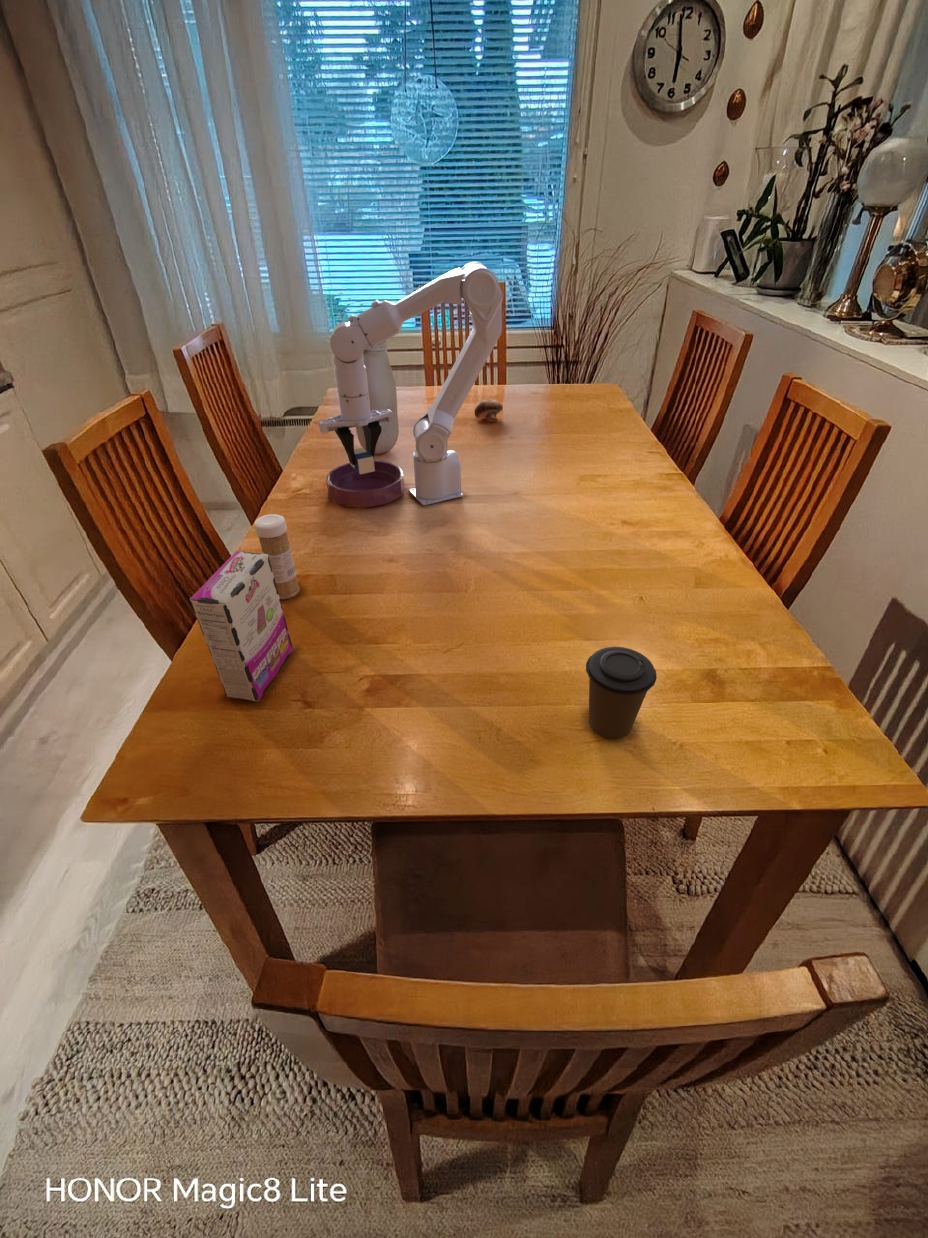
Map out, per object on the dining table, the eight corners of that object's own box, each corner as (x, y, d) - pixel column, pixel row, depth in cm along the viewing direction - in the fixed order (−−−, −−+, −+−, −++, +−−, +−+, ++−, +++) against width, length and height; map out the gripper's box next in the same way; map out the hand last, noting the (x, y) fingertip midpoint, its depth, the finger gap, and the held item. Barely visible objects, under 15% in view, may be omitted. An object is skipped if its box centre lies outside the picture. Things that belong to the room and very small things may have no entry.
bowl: (388, 472, 136) (386, 455, 134) (416, 499, 125) (415, 481, 123) (319, 486, 131) (317, 469, 128) (342, 516, 119) (340, 497, 117)
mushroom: (504, 414, 158) (496, 392, 157) (476, 425, 160) (469, 403, 159) (508, 420, 166) (501, 398, 165) (482, 430, 168) (474, 409, 167)
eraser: (349, 464, 122) (347, 449, 121) (364, 461, 124) (363, 447, 122) (359, 474, 118) (358, 459, 116) (375, 471, 119) (373, 456, 118)
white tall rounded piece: (383, 462, 141) (371, 335, 124) (351, 453, 145) (335, 330, 129) (408, 448, 148) (399, 326, 131) (376, 441, 152) (364, 322, 135)
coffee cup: (657, 728, 73) (673, 668, 67) (611, 758, 69) (624, 697, 63) (608, 690, 78) (620, 632, 72) (564, 717, 75) (572, 657, 69)
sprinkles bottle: (286, 582, 100) (270, 510, 92) (306, 590, 98) (291, 517, 90) (266, 595, 97) (247, 522, 89) (285, 603, 95) (268, 529, 87)
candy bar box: (262, 645, 87) (235, 549, 77) (294, 650, 86) (271, 552, 76) (223, 699, 78) (186, 597, 68) (258, 704, 77) (226, 602, 67)
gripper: (322, 404, 106) (333, 475, 115) (396, 392, 112) (402, 461, 120) (311, 394, 111) (322, 463, 119) (382, 383, 117) (388, 449, 125)
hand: (361, 461), depth 120 cm, fingers closed on eraser, 3 cm apart
